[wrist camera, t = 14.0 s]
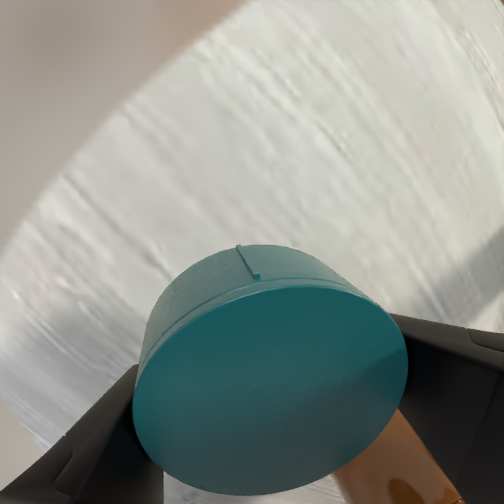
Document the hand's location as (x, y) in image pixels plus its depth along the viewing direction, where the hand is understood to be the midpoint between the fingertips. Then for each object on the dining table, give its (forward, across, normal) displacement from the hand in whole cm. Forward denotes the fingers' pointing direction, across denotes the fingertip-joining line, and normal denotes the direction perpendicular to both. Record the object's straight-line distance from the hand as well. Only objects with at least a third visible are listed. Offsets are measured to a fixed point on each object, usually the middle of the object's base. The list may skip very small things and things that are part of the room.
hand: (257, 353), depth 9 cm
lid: (0, 0, 0) cm, 0 cm away
